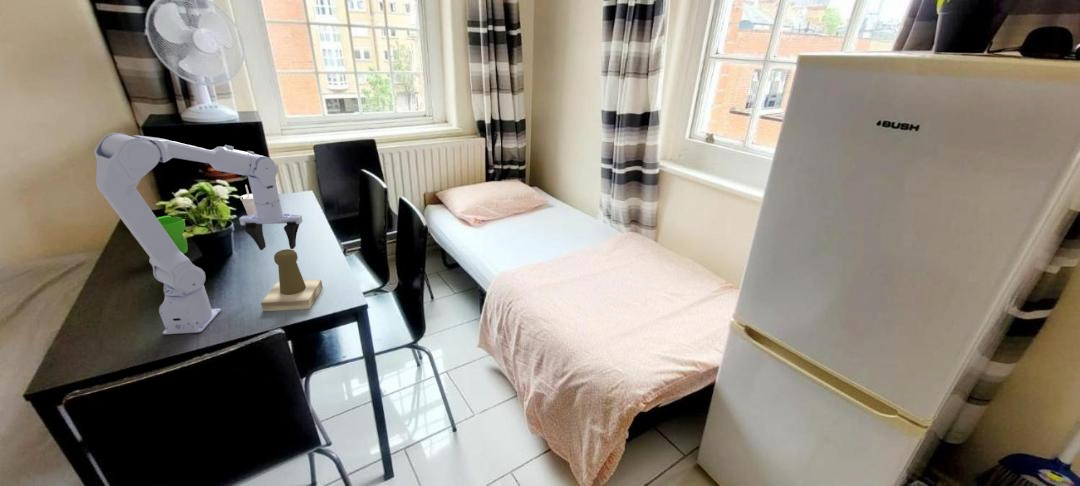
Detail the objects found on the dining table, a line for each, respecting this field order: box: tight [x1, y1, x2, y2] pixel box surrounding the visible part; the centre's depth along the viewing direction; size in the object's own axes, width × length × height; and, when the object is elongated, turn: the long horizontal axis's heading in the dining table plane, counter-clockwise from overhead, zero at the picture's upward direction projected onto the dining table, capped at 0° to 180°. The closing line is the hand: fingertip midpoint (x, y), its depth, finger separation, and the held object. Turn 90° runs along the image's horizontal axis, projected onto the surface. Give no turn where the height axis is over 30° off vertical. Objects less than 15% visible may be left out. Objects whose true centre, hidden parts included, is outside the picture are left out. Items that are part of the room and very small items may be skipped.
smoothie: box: [239, 184, 257, 216], centre depth 158 cm, size 6×6×14 cm
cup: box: [156, 215, 189, 255], centre depth 133 cm, size 9×9×11 cm
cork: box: [273, 248, 306, 295], centre depth 111 cm, size 6×6×11 cm
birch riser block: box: [260, 278, 323, 312], centre depth 113 cm, size 11×11×2 cm
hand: (278, 248), depth 117 cm, fingers open, 7 cm apart
